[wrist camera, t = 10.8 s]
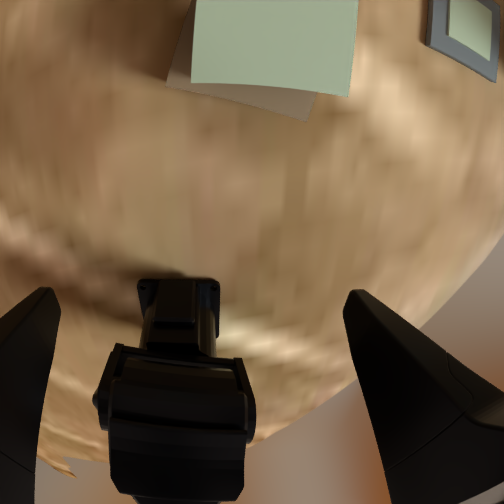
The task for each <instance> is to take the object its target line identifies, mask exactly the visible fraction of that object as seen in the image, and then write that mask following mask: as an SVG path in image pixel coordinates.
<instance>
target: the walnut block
mask: <svg viewBox="0 0 504 504" xmlns="http://www.w3.org/2000/svg"><path fill="white" fill-rule="evenodd" d="M196 3H197V0H192V1H191V4H190V7H189V9H188V12H187V15H186V18H185V21H184V24H183V27H182V30H181V33H180V36H179V39H178V42H177V46H176V49H175V52H174V56H173V59H172V63H171V66H170V70H169V74H168V77H167V81H166V85H165V87H169V88H175V89H181V90H186V91H191V92H196V93H201V94H206V95H211V96H215V97H219V98H224V99H228V100H232V101H236V102H240V103H244V104H248V105H251V106H255V107H259V108H262V109H266V110H269V111H272V112H276V113H279V114H282V115H286V116H289V117H292V118H295V119H298V120H301V121H304V122H307V120H308V117H309V114H310V111H311V109H312V106H313V103H314V100H315V97H316V94H317V92H314V91H308V90H300V89H292V88H283V87H273V86H262V85H247V84H226V83H191V69H192V52H193V37H194V25H195V13H196Z"/></svg>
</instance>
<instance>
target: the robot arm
mask: <svg viewBox="0 0 504 504" xmlns="http://www.w3.org/2000/svg"><path fill="white" fill-rule="evenodd" d="M142 285H145V286H146V287H143V286H142ZM212 286H216V287H215V288H212ZM137 290H138V295H139V300H140V305H141V310H142V315H143V319H144V322H143V327H142V333H141V339H140V344H139V348H136V347H130V346H124V344H120V343H116V344H115V347H114V349H113V351H111V353H110V355H109V358H108V361H107V364H106V366H105V369H104V372H103V375H102V377H101V380H100V383H99V386H98V388H97V390H96V391H95V393H94V394H93V398H92V402H93V405H94V406H95V407H96V409H97V410H98V416H99V423H100V427H101V429H102V430H105V431H108V439H109V461H110V471H111V472H110V476H111V479H112V481H113V483H114V485H115V486H116V488H117V490H118V491H119V492H120V493H122V494H127V495H131V496H132V497H133V499H134V500H135V501H136V502H137V504H220V503H221V502H224V501H225V502H227V501H236V500H237V498H238V496H239V495H240V493H241V492H242V490H243V488H244V458H245V449H246V444H249V443H250V442H251V441H252V439H253V437H254V433H255V428H256V404H255V398H254V395H253V392H252V388H251V385H250V382H249V379H248V376H247V373H246V370H245V367H244V363H243V360H242V358H233V359H231V358H218V357H216V338H218V337H219V314H220V283H219V282H218V281H215V280H155V279H141V280H139V281H138V284H137ZM60 316H61V309H60V305H59V303H58V300H57V298H56V295H55V293H54V290H53V289H52V288H51V287H39V288H38V289H37V290H35V291H34V292H33V293H31V294H30V295H29V296H27V297H26V298H25V299H24V300H22V301H21V302H20V303H18V304H17V305H16V306H15V307H13V308H12V309H11V310H10V311H8V312H7V313H6V314H5V315H4V316H2V317H1V318H0V504H34V490H35V467H36V455H37V445H38V436H39V428H40V422H41V415H42V409H43V403H44V398H45V393H46V388H47V383H48V378H49V374H50V369H51V365H52V361H53V356H54V350H55V344H56V338H57V332H58V326H59V321H60ZM343 319H344V324H345V328H346V333H347V337H348V342H349V347H350V352H351V356H352V360H353V363H354V367H355V370H356V373H357V376H358V379H359V383H360V386H361V389H362V392H363V396H364V399H365V402H366V406H367V409H368V413H369V416H370V419H371V423H372V427H373V430H374V434H375V438H376V441H377V445H378V449H379V453H380V456H381V460H382V464H383V468H384V471H385V472H384V473H385V477H386V481H387V486H388V490H389V494H390V498H391V503H392V504H504V392H503V391H501V390H500V389H498V388H497V387H495V386H494V385H492V384H491V383H489V382H488V381H486V380H485V379H483V378H482V377H480V376H479V375H478V374H476V373H474V372H473V371H472V370H470V369H469V368H467V367H466V366H465V365H463V364H462V363H461V362H460V361H458V360H457V359H456V358H454V357H453V356H452V355H451V354H449V353H448V352H447V353H446V351H445V350H444V349H443V348H441V347H440V346H439V345H438V344H436V343H435V342H434V341H432V340H431V339H430V338H429V337H427V336H426V335H424V334H423V333H422V332H421V331H419V330H418V329H417V328H415V327H414V326H413V325H411V324H410V323H409V322H407V321H406V320H405V319H403V318H402V317H401V316H399V315H398V314H397V313H395V312H394V311H393V310H391V309H390V308H389V307H387V306H386V305H385V304H383V303H382V302H380V301H379V300H378V299H376V298H375V297H374V296H372V295H371V294H370V293H368V292H367V291H365V290H363V289H355V290H351V291H350V293H349V295H348V298H347V300H346V303H345V306H344V308H343Z"/></svg>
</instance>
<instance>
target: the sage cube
mask: <svg viewBox="0 0 504 504" xmlns="http://www.w3.org/2000/svg"><path fill="white" fill-rule="evenodd" d="M357 13H358V0H197V3H196V13H195V25H194V37H193V52H192V69H191V83H226V84H247V85H262V86H273V87H283V88H292V89H300V90H308V91H314V92H321V93H327V94H333V95H339V96H344V97H348V95H349V88H350V80H351V72H352V64H353V55H354V46H355V36H356V25H357Z"/></svg>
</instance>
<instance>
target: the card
mask: <svg viewBox="0 0 504 504" xmlns="http://www.w3.org/2000/svg"><path fill="white" fill-rule="evenodd" d="M499 45H500V6H499V5H498V4H497V3H495V2H494V1H493V0H429V1H428V21H427V34H426V44H425V46H427V47H429V48H432V49H434V50H436V51H438V52H440V53H442V54H444V55H446V56H448V57H450V58H452V59H453V60H455V61H457V62H459V63H461V64H463V65H464V66H466V67H468V68H470V69H471V70H473V71H475V72H476V73H478V74H480V75H481V76H483V77H484V78H486V79H488V80H489V81H491V82H494V83H496V79H497V70H498V59H499Z"/></svg>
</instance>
